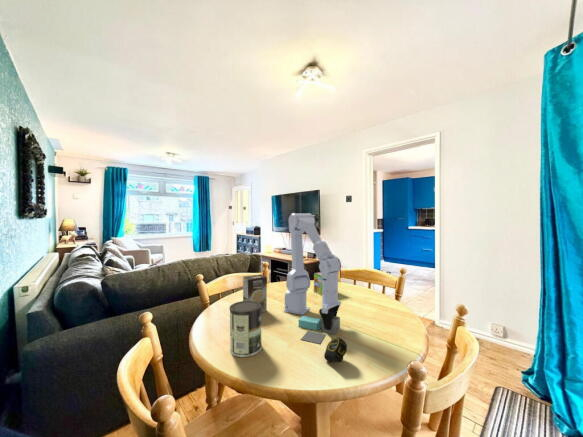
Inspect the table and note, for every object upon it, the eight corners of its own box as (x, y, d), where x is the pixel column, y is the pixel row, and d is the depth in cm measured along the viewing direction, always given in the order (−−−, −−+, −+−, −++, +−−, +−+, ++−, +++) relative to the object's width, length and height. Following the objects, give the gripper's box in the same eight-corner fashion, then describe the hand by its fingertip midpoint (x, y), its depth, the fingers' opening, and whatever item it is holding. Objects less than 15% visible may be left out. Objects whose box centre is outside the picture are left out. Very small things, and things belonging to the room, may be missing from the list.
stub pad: (300, 340, 85) (300, 339, 85) (307, 331, 92) (307, 330, 92) (320, 344, 82) (320, 343, 82) (325, 335, 89) (325, 334, 89)
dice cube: (333, 335, 89) (333, 322, 88) (321, 331, 92) (321, 318, 91) (339, 330, 93) (339, 317, 92) (328, 327, 96) (328, 314, 95)
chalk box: (313, 293, 136) (313, 267, 136) (326, 291, 141) (326, 265, 140) (323, 298, 128) (323, 270, 128) (337, 295, 133) (336, 268, 132)
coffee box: (248, 316, 105) (248, 279, 105) (242, 312, 111) (242, 276, 111) (267, 312, 111) (267, 276, 110) (260, 307, 116) (260, 273, 116)
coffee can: (259, 338, 87) (258, 299, 87) (264, 354, 77) (264, 309, 77) (229, 343, 84) (228, 302, 84) (230, 360, 74) (230, 313, 74)
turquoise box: (298, 327, 95) (298, 319, 95) (302, 322, 99) (302, 315, 99) (318, 331, 92) (318, 323, 92) (321, 326, 96) (321, 318, 96)
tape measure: (330, 364, 73) (320, 356, 73) (339, 343, 77) (331, 335, 77) (343, 366, 68) (333, 357, 68) (352, 343, 72) (343, 335, 72)
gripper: (335, 297, 84) (335, 336, 84) (344, 285, 97) (344, 319, 97) (316, 294, 87) (316, 332, 87) (327, 283, 100) (327, 316, 100)
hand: (330, 325), depth 92 cm, fingers closed on dice cube, 6 cm apart
